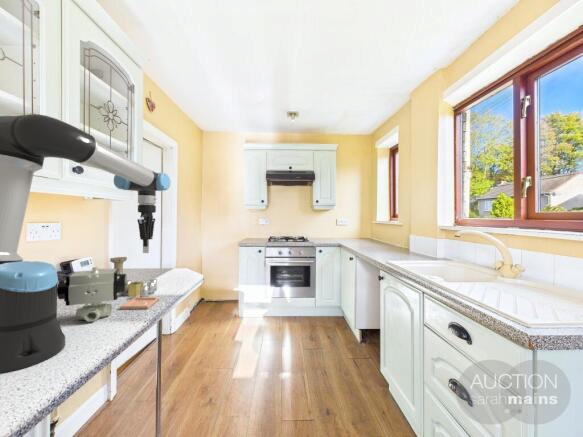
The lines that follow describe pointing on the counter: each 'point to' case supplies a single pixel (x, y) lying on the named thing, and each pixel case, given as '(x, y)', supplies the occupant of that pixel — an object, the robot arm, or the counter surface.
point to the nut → (134, 288)
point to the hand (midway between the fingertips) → (146, 252)
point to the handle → (118, 262)
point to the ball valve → (92, 291)
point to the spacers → (144, 288)
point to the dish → (140, 303)
